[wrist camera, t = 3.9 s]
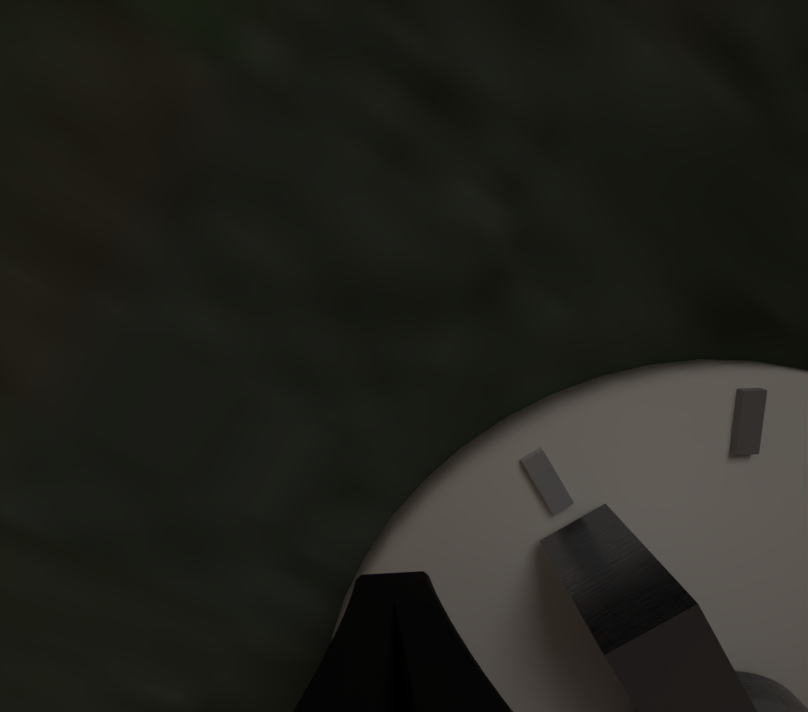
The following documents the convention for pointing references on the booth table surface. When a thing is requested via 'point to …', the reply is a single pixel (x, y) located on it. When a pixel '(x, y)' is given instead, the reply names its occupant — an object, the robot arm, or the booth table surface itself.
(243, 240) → the booth table surface
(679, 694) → the dial pointer
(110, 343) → the booth table surface
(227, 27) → the booth table surface
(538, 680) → the dial plate
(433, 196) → the booth table surface
